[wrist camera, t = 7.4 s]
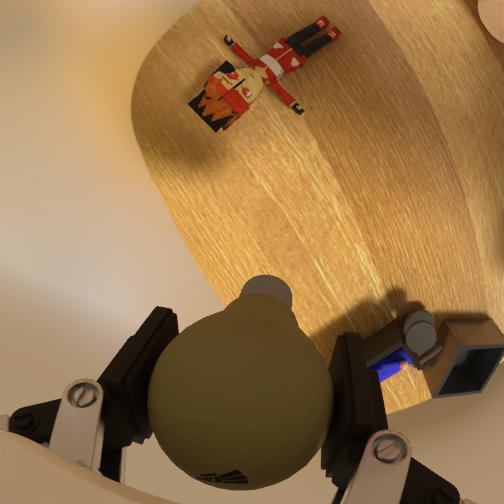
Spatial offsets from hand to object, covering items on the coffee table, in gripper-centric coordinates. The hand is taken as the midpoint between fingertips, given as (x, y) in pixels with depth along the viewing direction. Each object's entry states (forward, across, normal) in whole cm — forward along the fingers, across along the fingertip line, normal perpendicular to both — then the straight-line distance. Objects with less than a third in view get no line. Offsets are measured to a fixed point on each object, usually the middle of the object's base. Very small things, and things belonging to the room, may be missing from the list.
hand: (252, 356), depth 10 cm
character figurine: (+21, -13, +15) cm, 29 cm away
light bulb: (+5, 0, 0) cm, 5 cm away
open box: (+21, -26, +16) cm, 37 cm away
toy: (+21, +2, -13) cm, 25 cm away
